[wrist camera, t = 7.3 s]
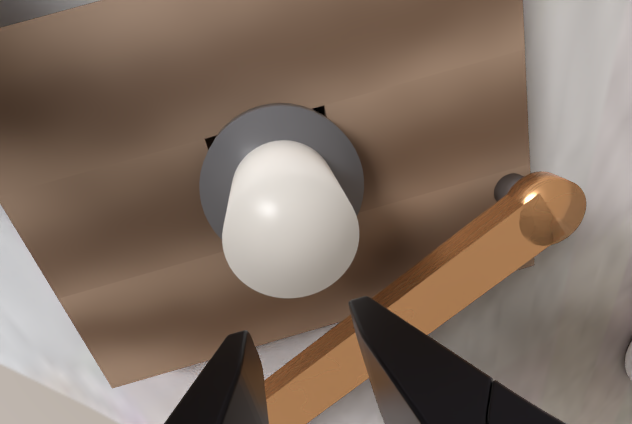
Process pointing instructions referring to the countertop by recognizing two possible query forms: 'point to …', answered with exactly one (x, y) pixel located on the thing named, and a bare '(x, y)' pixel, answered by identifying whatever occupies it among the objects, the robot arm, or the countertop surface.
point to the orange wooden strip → (433, 290)
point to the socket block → (206, 122)
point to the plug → (284, 199)
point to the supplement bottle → (629, 361)
